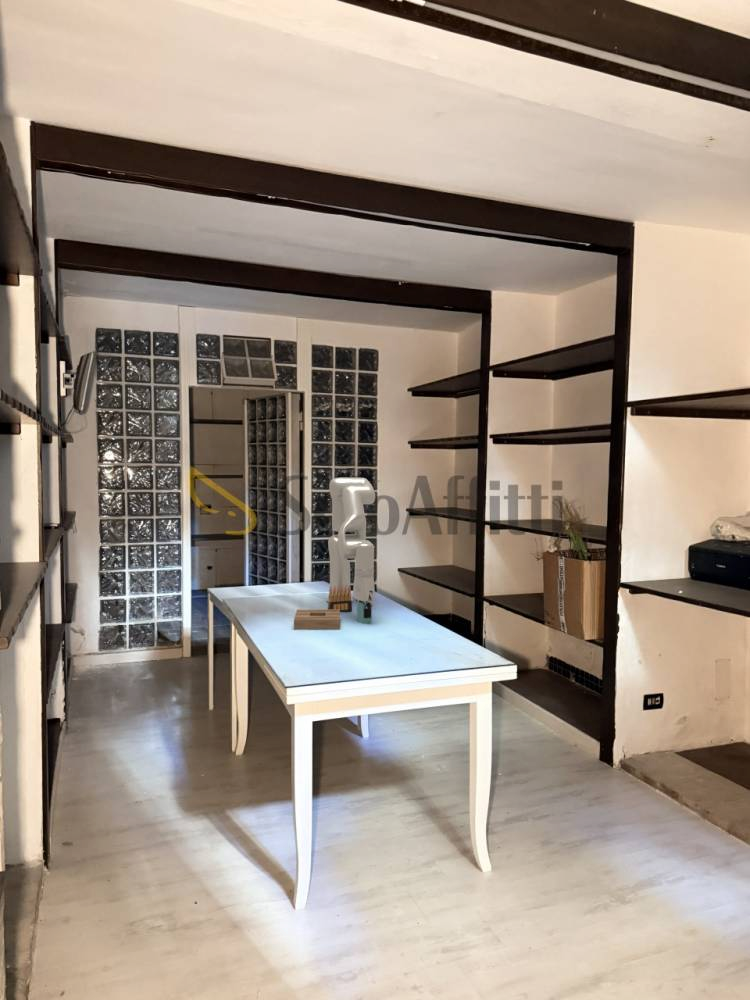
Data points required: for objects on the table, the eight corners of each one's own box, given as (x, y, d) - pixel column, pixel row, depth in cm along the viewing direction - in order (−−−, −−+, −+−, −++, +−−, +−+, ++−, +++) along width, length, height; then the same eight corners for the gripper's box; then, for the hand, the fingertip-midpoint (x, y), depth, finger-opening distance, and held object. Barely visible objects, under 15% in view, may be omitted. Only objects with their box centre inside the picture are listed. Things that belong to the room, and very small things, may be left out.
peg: (356, 621, 279) (357, 601, 279) (365, 619, 282) (366, 600, 281) (362, 623, 276) (362, 603, 275) (371, 621, 278) (371, 602, 277)
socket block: (296, 618, 282) (296, 609, 282) (340, 618, 283) (340, 609, 283) (294, 629, 264) (294, 619, 264) (339, 629, 265) (340, 619, 265)
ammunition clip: (350, 611, 298) (350, 584, 297) (352, 611, 296) (352, 584, 296) (327, 613, 294) (327, 585, 293) (329, 613, 292) (329, 586, 291)
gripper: (346, 570, 282) (346, 613, 283) (367, 576, 268) (367, 621, 269) (361, 569, 287) (361, 611, 288) (383, 574, 272) (383, 619, 273)
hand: (364, 616), depth 278 cm, fingers closed on peg, 4 cm apart
